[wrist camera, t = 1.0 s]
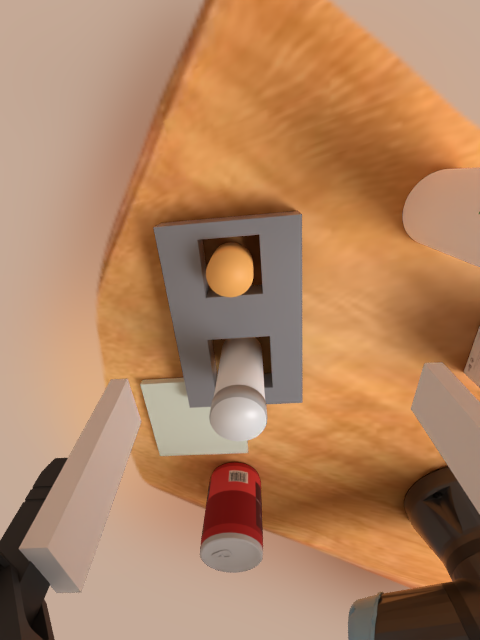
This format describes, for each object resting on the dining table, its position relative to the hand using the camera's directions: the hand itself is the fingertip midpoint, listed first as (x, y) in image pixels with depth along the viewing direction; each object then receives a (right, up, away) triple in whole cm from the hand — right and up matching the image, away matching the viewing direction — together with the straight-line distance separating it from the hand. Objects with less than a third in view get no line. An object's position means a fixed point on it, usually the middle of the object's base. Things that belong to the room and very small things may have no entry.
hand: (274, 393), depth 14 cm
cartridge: (-1, -1, +24) cm, 24 cm away
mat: (-7, -10, +29) cm, 31 cm away
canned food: (-2, -21, +34) cm, 40 cm away
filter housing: (-2, +4, +22) cm, 22 cm away
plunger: (-2, +9, +18) cm, 20 cm away
